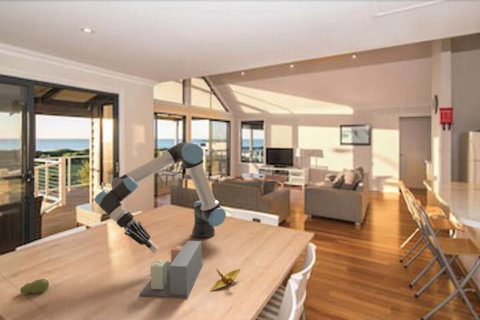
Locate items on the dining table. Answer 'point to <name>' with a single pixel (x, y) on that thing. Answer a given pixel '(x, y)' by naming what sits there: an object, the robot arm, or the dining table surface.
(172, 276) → the console
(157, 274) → the button two
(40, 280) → the pear
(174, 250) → the button one
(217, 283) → the origami crane
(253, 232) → the dining table surface
